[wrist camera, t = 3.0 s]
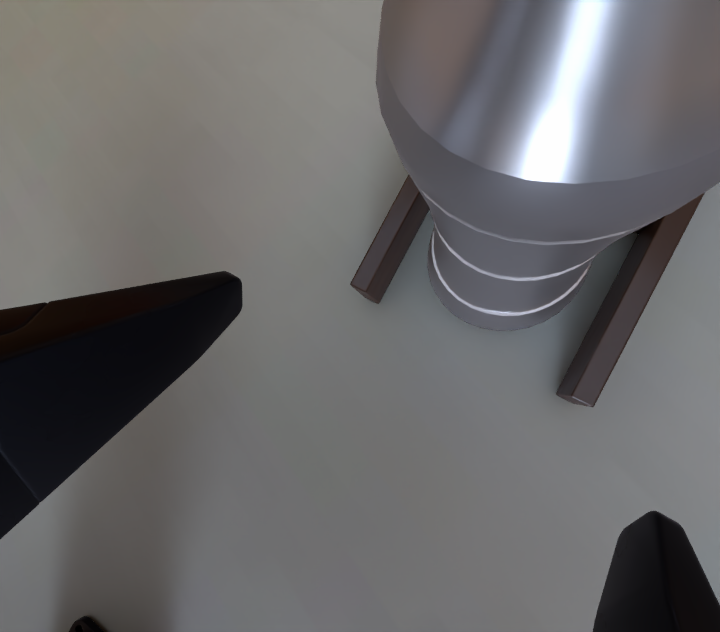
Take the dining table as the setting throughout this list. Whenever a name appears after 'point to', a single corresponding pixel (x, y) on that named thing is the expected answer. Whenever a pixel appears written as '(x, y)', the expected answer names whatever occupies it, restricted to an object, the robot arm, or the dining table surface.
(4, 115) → the dining table surface
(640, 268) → the wooden divided caddy
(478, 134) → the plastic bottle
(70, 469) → the robot arm
